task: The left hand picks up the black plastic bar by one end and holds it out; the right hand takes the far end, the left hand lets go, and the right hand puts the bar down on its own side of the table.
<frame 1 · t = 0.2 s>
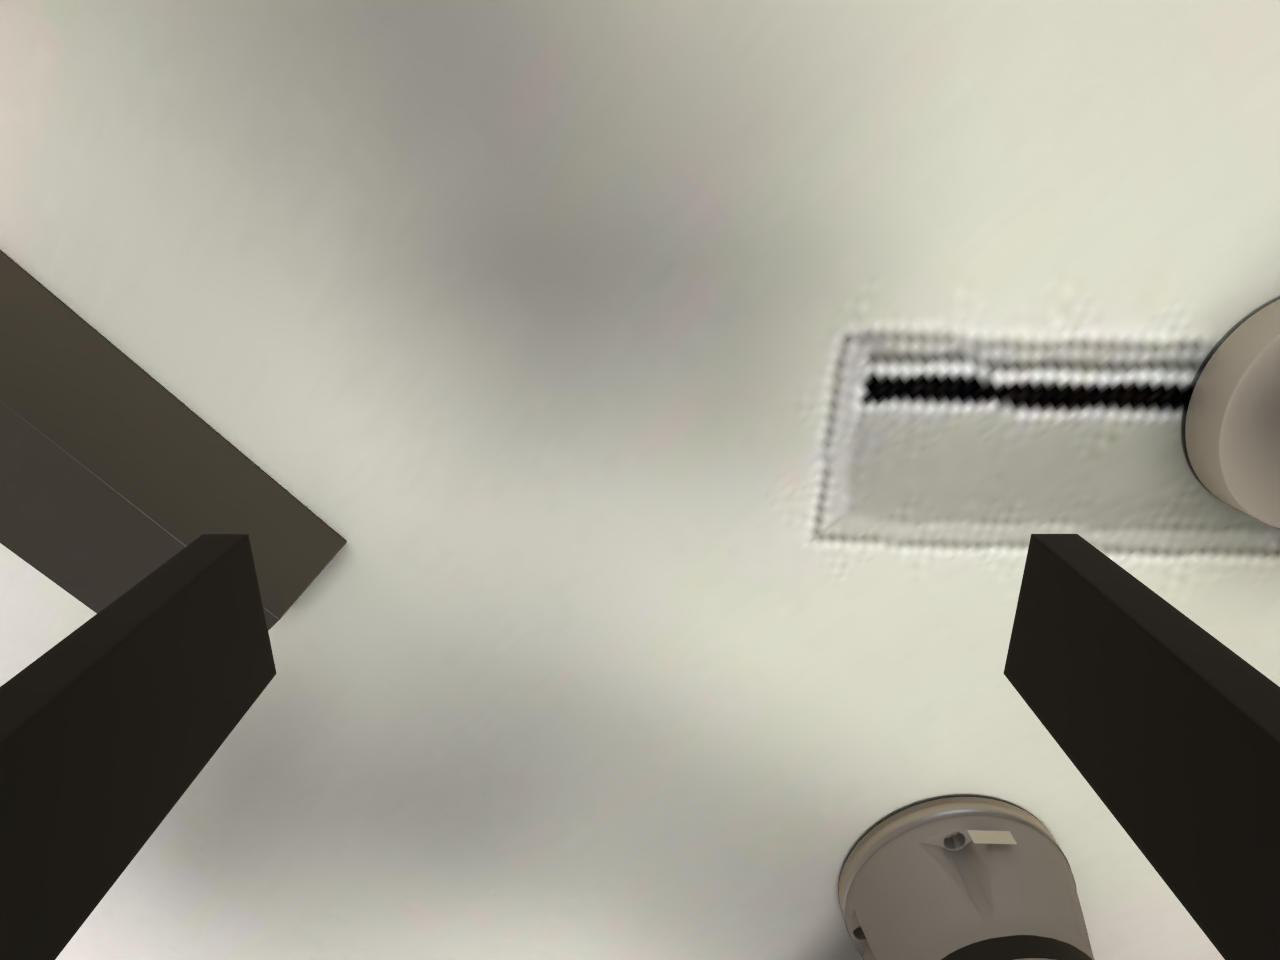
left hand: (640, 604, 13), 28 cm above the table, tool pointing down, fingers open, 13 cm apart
bar: (137, 428, 41), on the table
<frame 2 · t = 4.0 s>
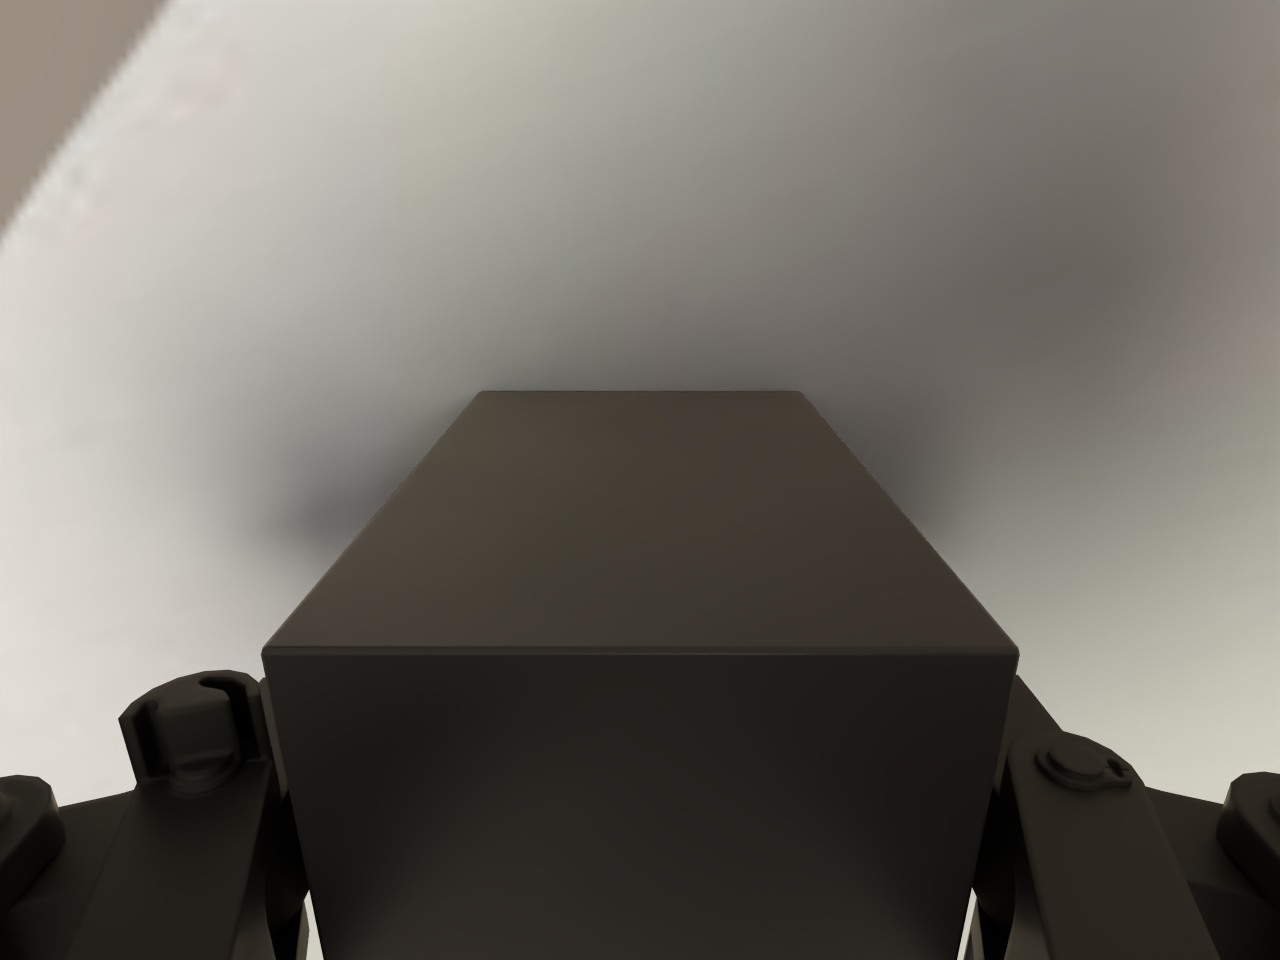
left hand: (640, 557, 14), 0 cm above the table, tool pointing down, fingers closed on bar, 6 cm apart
bar: (640, 881, 18), on the table, touching left hand
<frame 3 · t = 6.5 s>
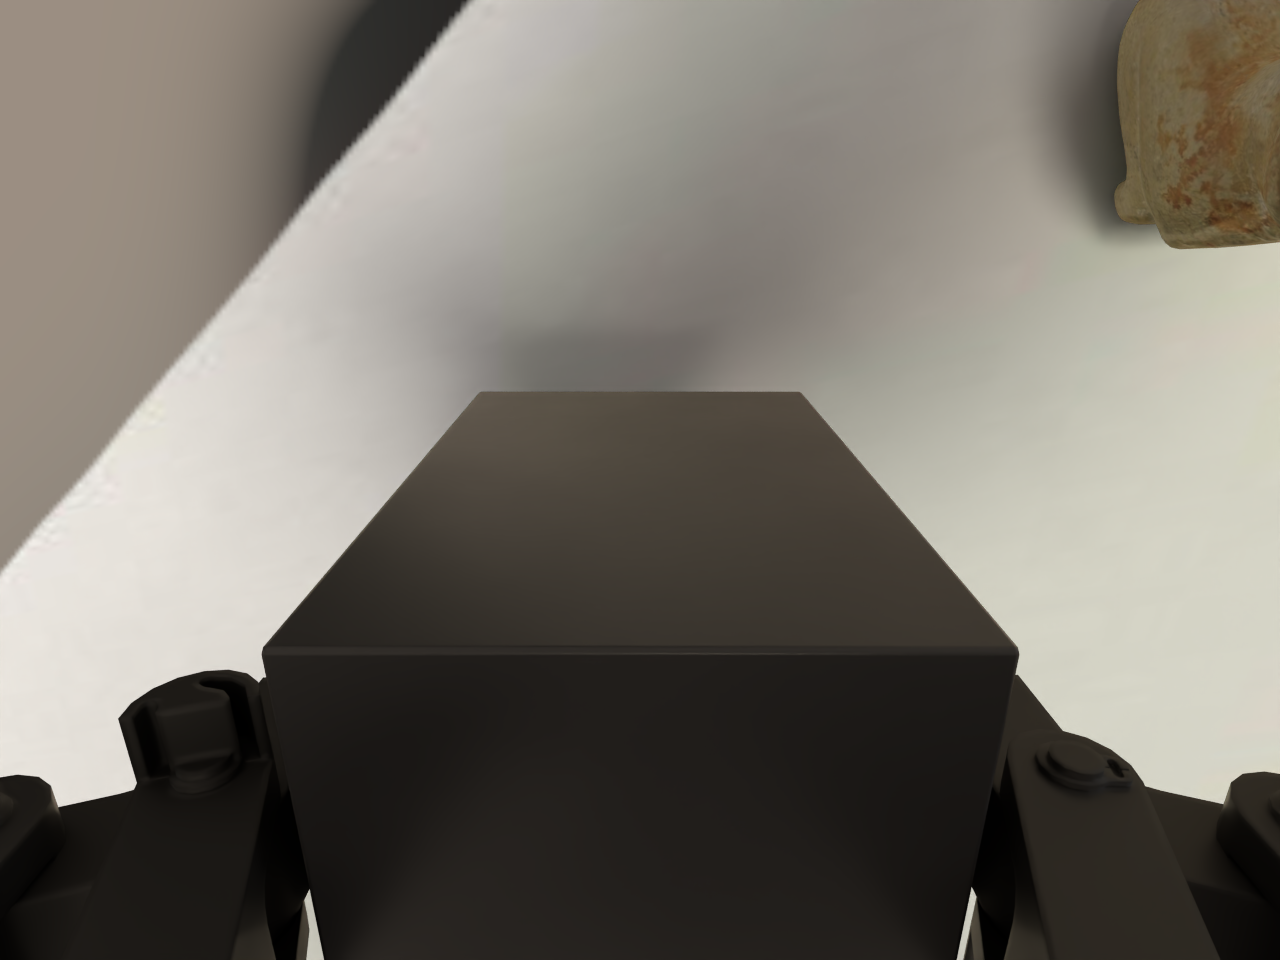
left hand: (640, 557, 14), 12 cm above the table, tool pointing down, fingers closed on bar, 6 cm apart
sculpture: (1167, 118, 23), on the table
bar: (640, 881, 18), point 12 cm above the table, touching left hand
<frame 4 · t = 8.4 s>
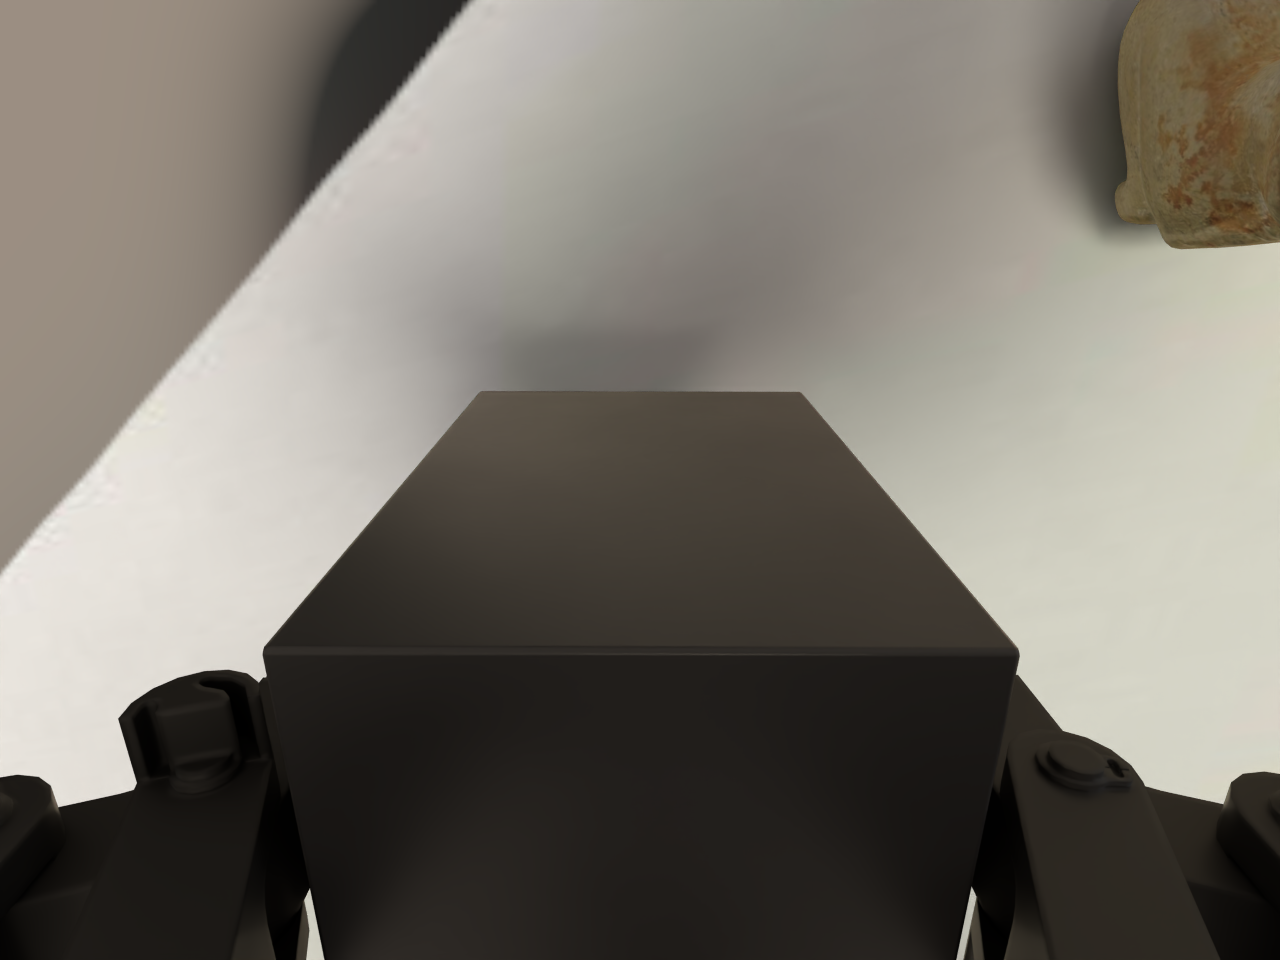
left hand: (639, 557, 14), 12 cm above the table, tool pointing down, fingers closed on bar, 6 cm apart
sculpture: (1168, 118, 23), on the table
bar: (639, 880, 18), point 12 cm above the table, touching left hand, right hand
when the left hand's fingers open (12 cm above the table, at t = 9.2 s): bar stays where it is, held by the right hand.
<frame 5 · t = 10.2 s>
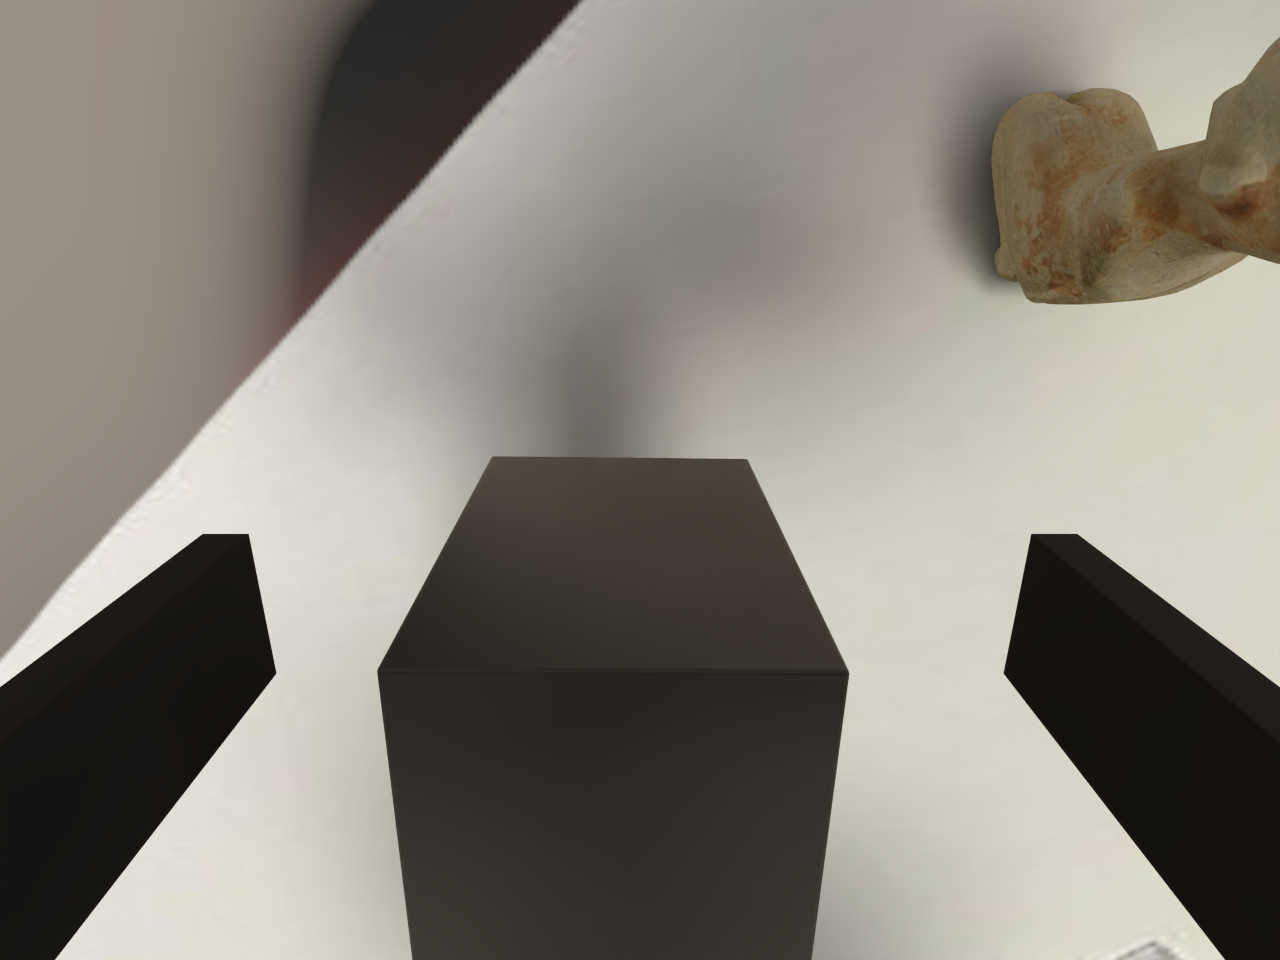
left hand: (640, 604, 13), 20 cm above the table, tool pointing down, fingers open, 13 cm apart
sculpture: (1034, 198, 29), on the table
bar: (617, 854, 22), point 14 cm above the table, touching right hand
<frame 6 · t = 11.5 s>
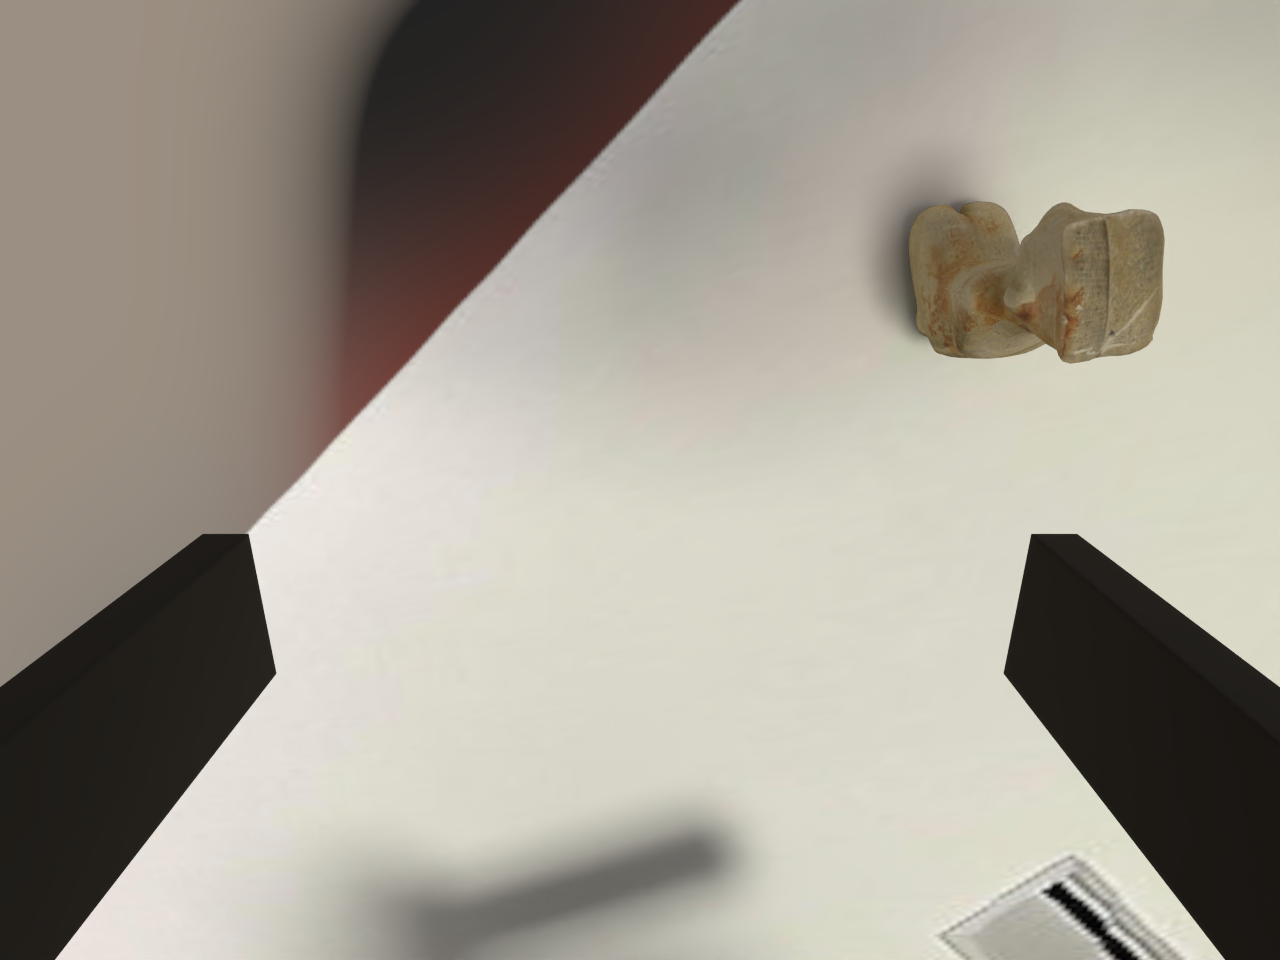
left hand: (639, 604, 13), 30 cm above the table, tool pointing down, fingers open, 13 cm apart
sculpture: (944, 274, 40), on the table
when the right hand's fingers open (2 cm above the table, at t = 14.7 s): bar stays where it is, on the table.
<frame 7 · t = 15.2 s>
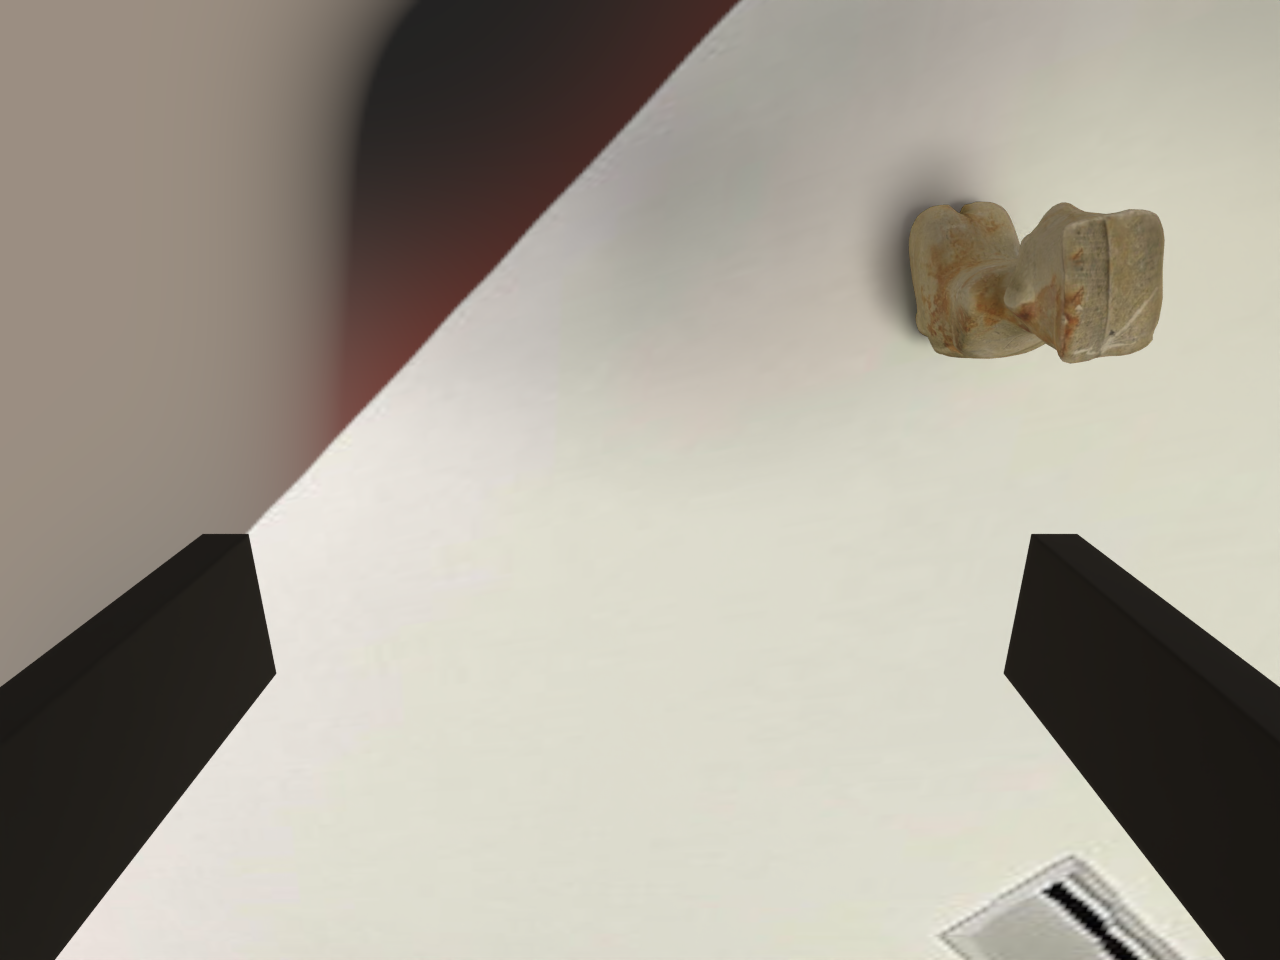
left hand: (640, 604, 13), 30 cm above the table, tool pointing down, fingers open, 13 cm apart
sculpture: (944, 274, 40), on the table
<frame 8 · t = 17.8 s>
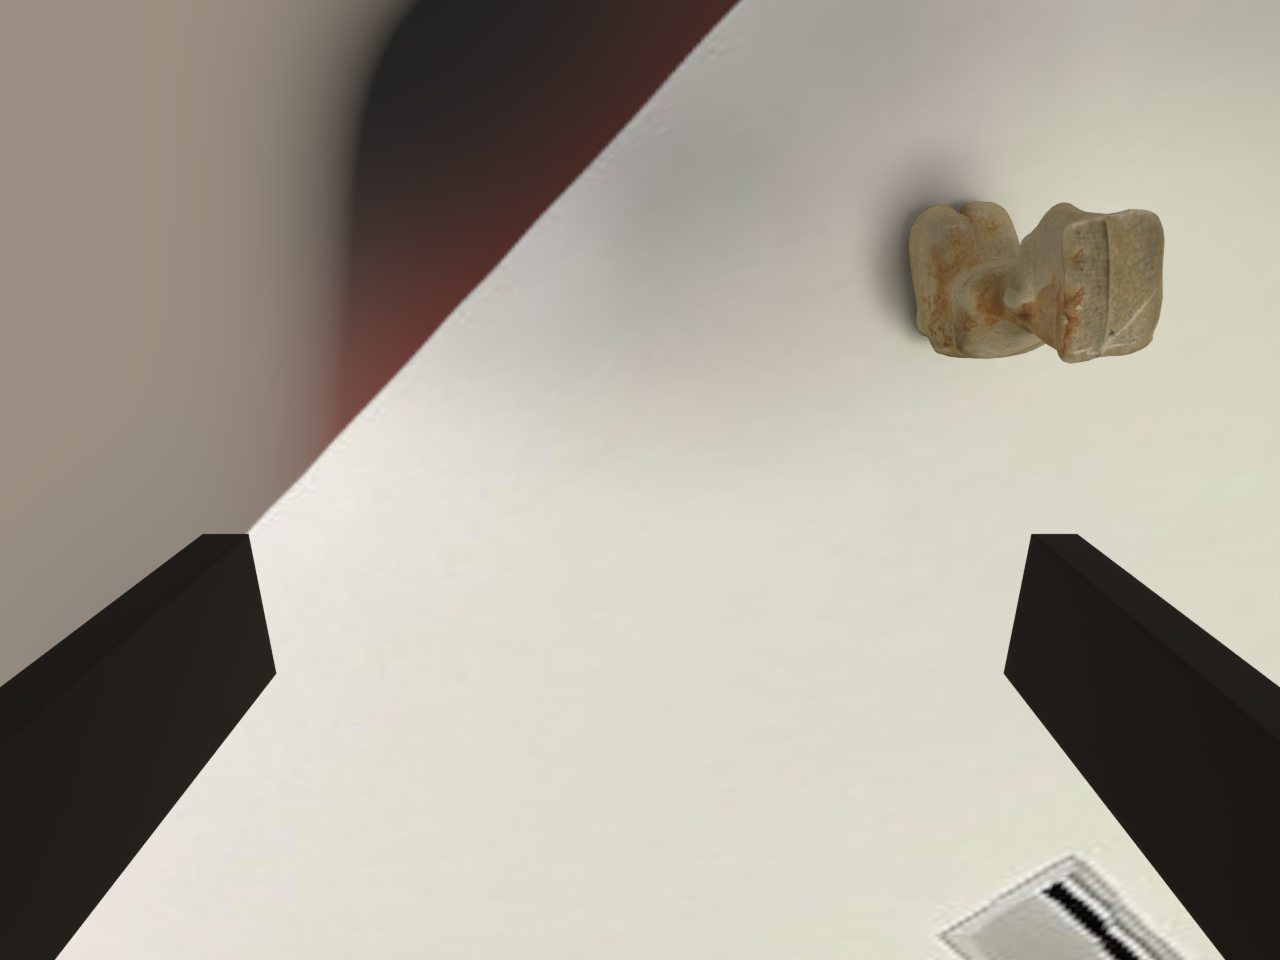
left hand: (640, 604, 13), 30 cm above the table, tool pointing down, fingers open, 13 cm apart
sculpture: (944, 274, 40), on the table
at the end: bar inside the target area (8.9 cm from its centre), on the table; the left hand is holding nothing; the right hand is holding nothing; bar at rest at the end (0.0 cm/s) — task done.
